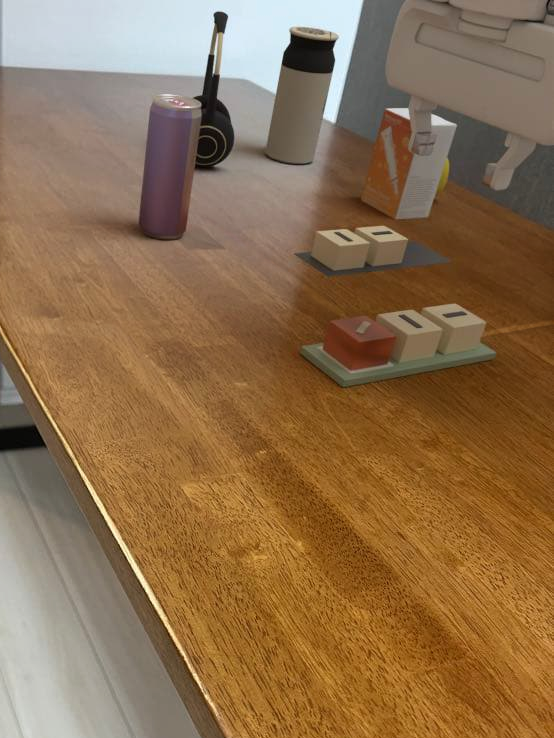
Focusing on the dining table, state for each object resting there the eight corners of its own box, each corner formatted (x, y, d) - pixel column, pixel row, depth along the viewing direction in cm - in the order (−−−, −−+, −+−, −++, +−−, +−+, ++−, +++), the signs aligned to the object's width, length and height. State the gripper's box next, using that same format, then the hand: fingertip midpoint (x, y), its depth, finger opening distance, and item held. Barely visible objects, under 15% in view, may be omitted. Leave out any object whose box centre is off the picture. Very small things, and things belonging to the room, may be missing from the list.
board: (414, 247, 113) (423, 217, 110) (451, 267, 108) (462, 237, 105) (292, 259, 104) (299, 227, 102) (326, 282, 100) (334, 250, 97)
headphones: (224, 151, 138) (247, 7, 126) (230, 179, 127) (256, 24, 114) (172, 144, 138) (189, 0, 125) (173, 172, 126) (192, 16, 114)
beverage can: (156, 243, 103) (172, 108, 94) (128, 226, 107) (140, 94, 97) (194, 237, 106) (213, 106, 97) (166, 221, 110) (181, 92, 100)
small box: (358, 204, 124) (383, 107, 116) (392, 203, 126) (419, 107, 118) (393, 225, 119) (422, 124, 110) (427, 222, 121) (459, 124, 113)
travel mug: (260, 158, 137) (283, 30, 126) (269, 147, 143) (292, 23, 132) (309, 168, 136) (337, 39, 124) (316, 156, 142) (343, 32, 130)
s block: (358, 343, 86) (366, 314, 84) (387, 364, 83) (397, 335, 81) (322, 348, 84) (329, 319, 82) (351, 370, 81) (359, 341, 79)
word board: (447, 329, 93) (459, 295, 90) (494, 359, 88) (508, 324, 86) (299, 353, 84) (308, 316, 82) (342, 387, 80) (353, 349, 77)
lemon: (415, 195, 131) (432, 139, 126) (445, 207, 128) (463, 150, 123) (394, 199, 128) (410, 143, 123) (424, 212, 125) (442, 154, 120)
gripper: (649, 12, 61) (571, 207, 70) (450, -34, 75) (406, 135, 83) (591, 10, 59) (518, 213, 68) (396, -37, 72) (356, 138, 81)
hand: (455, 169), depth 76 cm, fingers open, 8 cm apart
